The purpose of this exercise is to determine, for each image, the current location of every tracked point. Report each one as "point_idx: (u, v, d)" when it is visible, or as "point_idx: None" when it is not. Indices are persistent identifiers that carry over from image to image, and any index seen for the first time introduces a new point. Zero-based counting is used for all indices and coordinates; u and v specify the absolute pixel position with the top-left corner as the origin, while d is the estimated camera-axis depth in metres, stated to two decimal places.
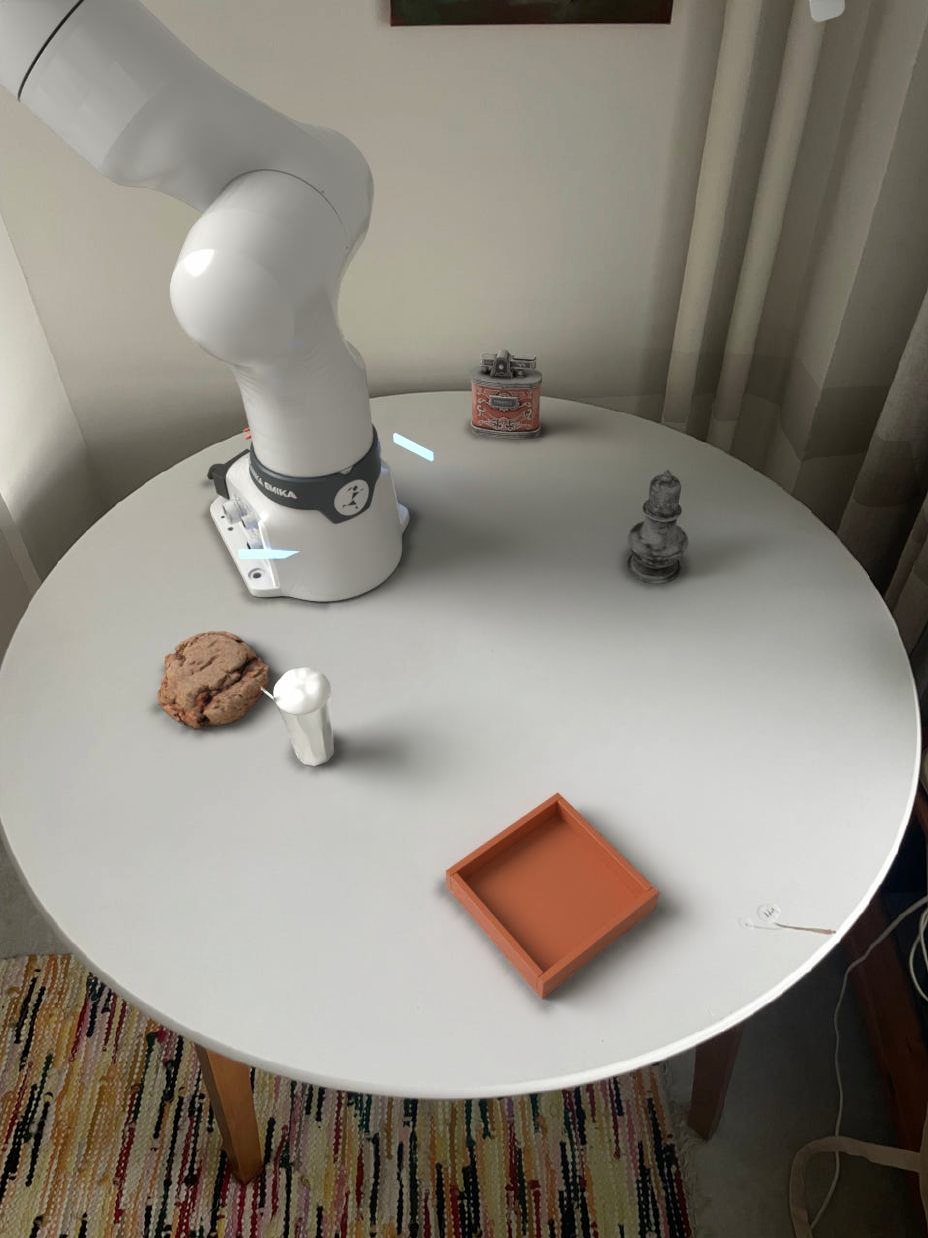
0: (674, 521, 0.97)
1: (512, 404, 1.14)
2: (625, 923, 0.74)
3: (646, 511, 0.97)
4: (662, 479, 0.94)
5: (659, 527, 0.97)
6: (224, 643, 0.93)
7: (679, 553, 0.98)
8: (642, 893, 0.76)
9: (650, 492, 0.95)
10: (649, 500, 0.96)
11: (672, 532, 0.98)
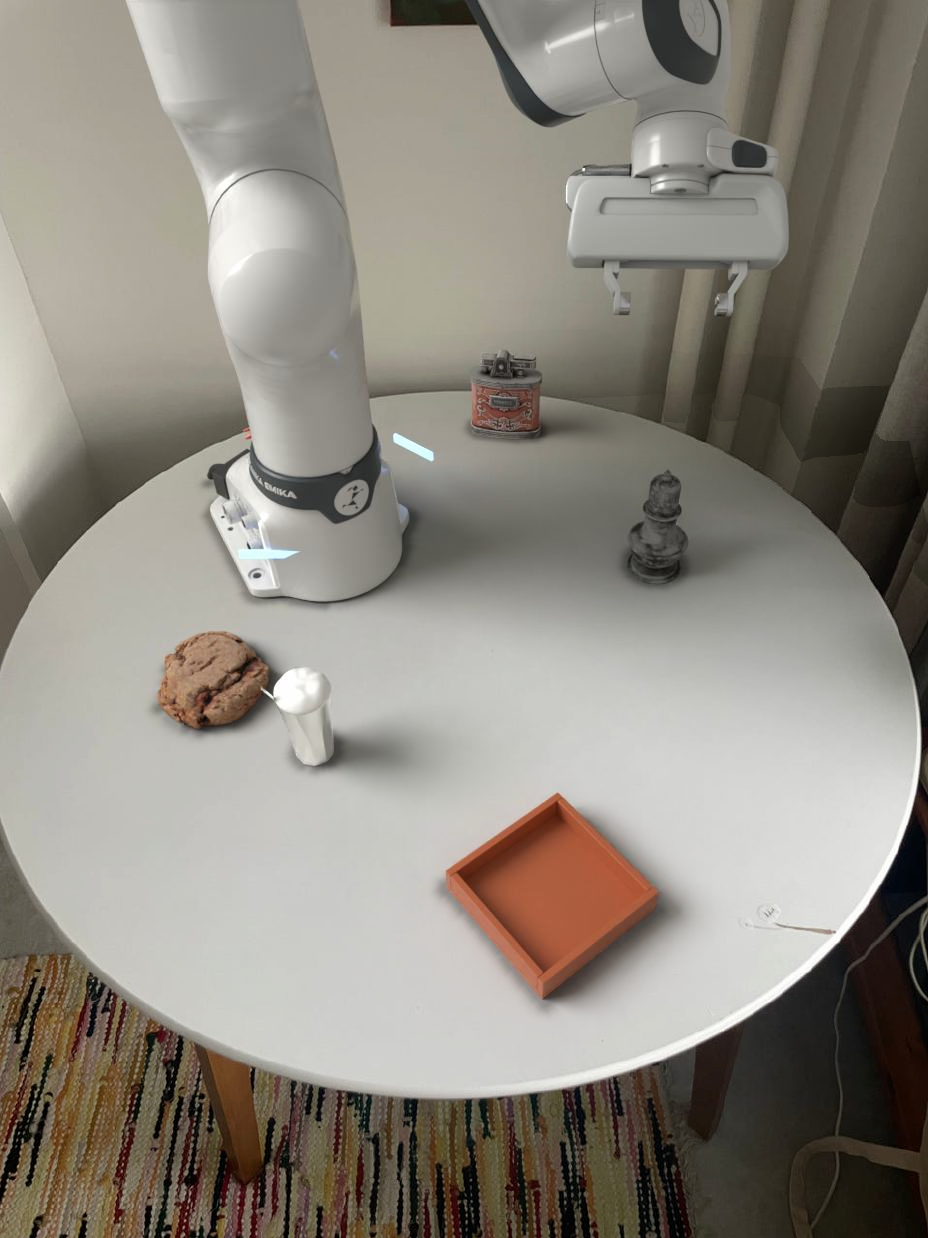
0: (674, 521, 0.97)
1: (512, 404, 1.14)
2: (625, 923, 0.74)
3: (646, 511, 0.97)
4: (663, 479, 0.94)
5: (659, 527, 0.97)
6: (224, 643, 0.93)
7: (679, 553, 0.98)
8: (642, 893, 0.76)
9: (650, 492, 0.95)
10: (649, 500, 0.96)
11: (672, 532, 0.98)
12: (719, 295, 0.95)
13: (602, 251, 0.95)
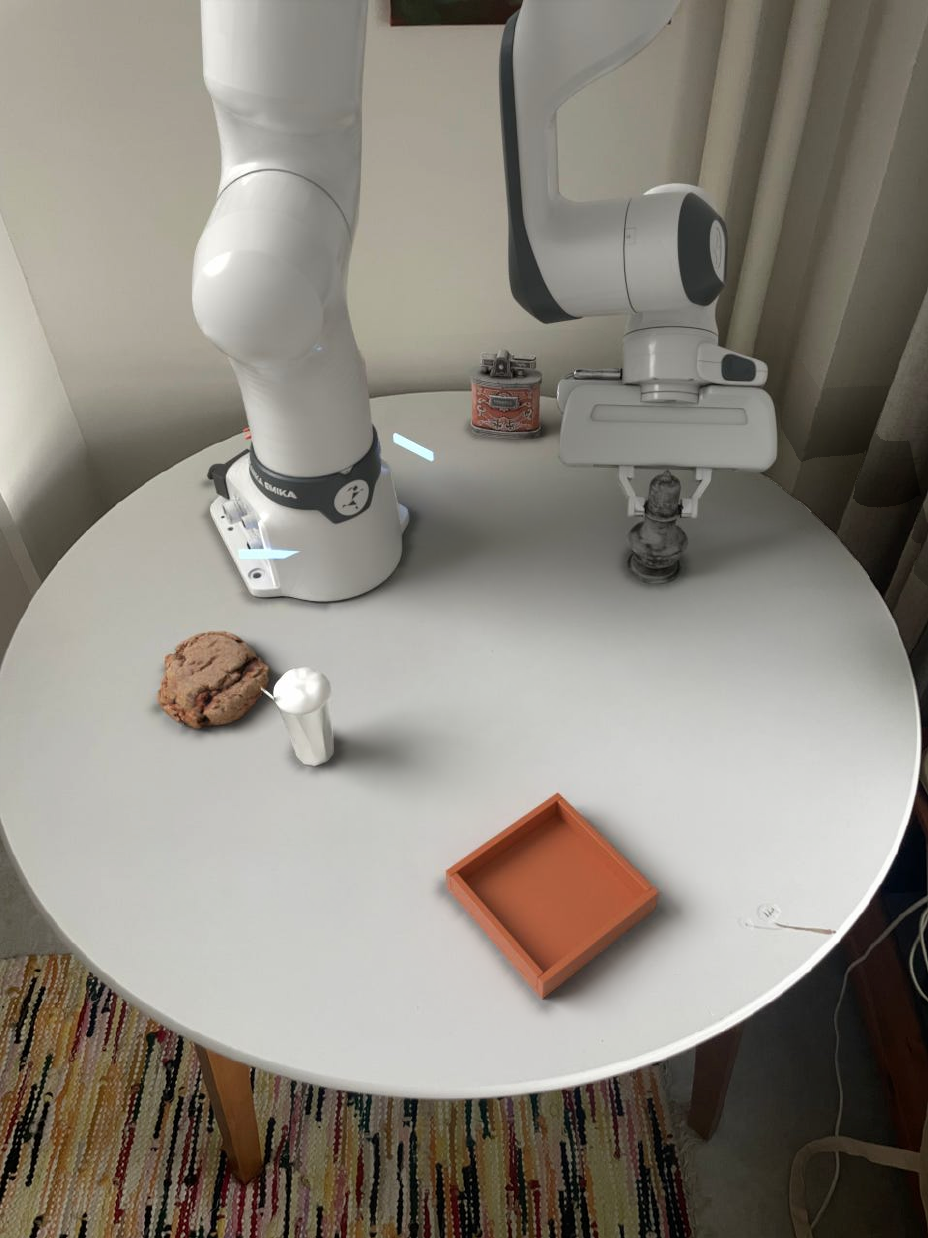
0: (674, 521, 0.97)
1: (512, 404, 1.14)
2: (625, 923, 0.74)
3: (646, 511, 0.97)
4: (662, 479, 0.94)
5: (659, 527, 0.97)
6: (224, 643, 0.93)
7: (679, 553, 0.98)
8: (642, 893, 0.76)
9: (650, 492, 0.95)
10: (649, 500, 0.96)
11: (672, 532, 0.98)
12: (683, 500, 0.96)
13: (593, 457, 0.96)
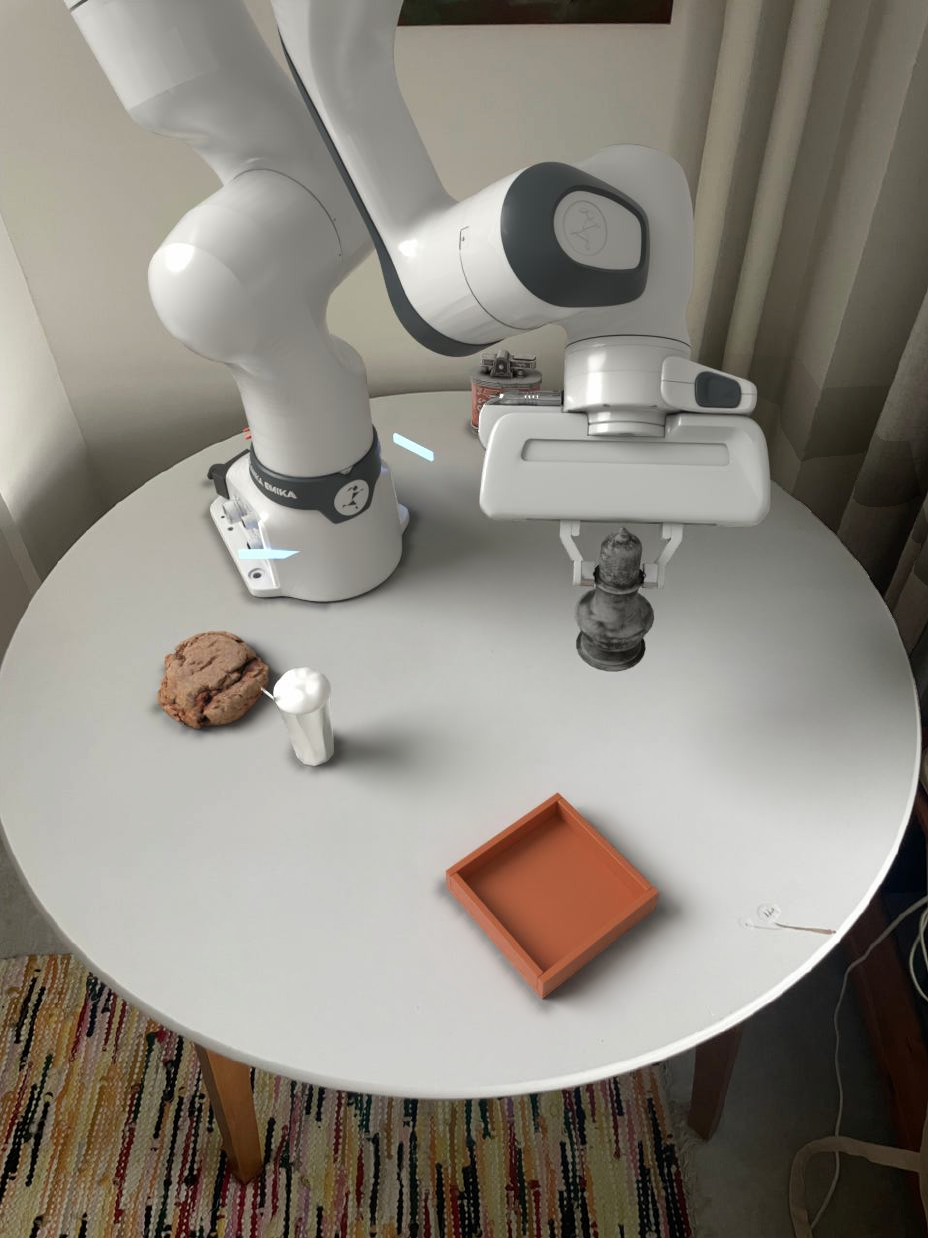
0: (634, 593, 0.73)
1: None
2: (625, 923, 0.74)
3: (597, 580, 0.73)
4: (617, 540, 0.70)
5: (614, 601, 0.73)
6: (224, 643, 0.93)
7: (642, 634, 0.74)
8: (642, 893, 0.76)
9: (601, 556, 0.71)
10: (600, 566, 0.72)
11: (632, 606, 0.74)
12: (646, 566, 0.72)
13: (525, 510, 0.72)
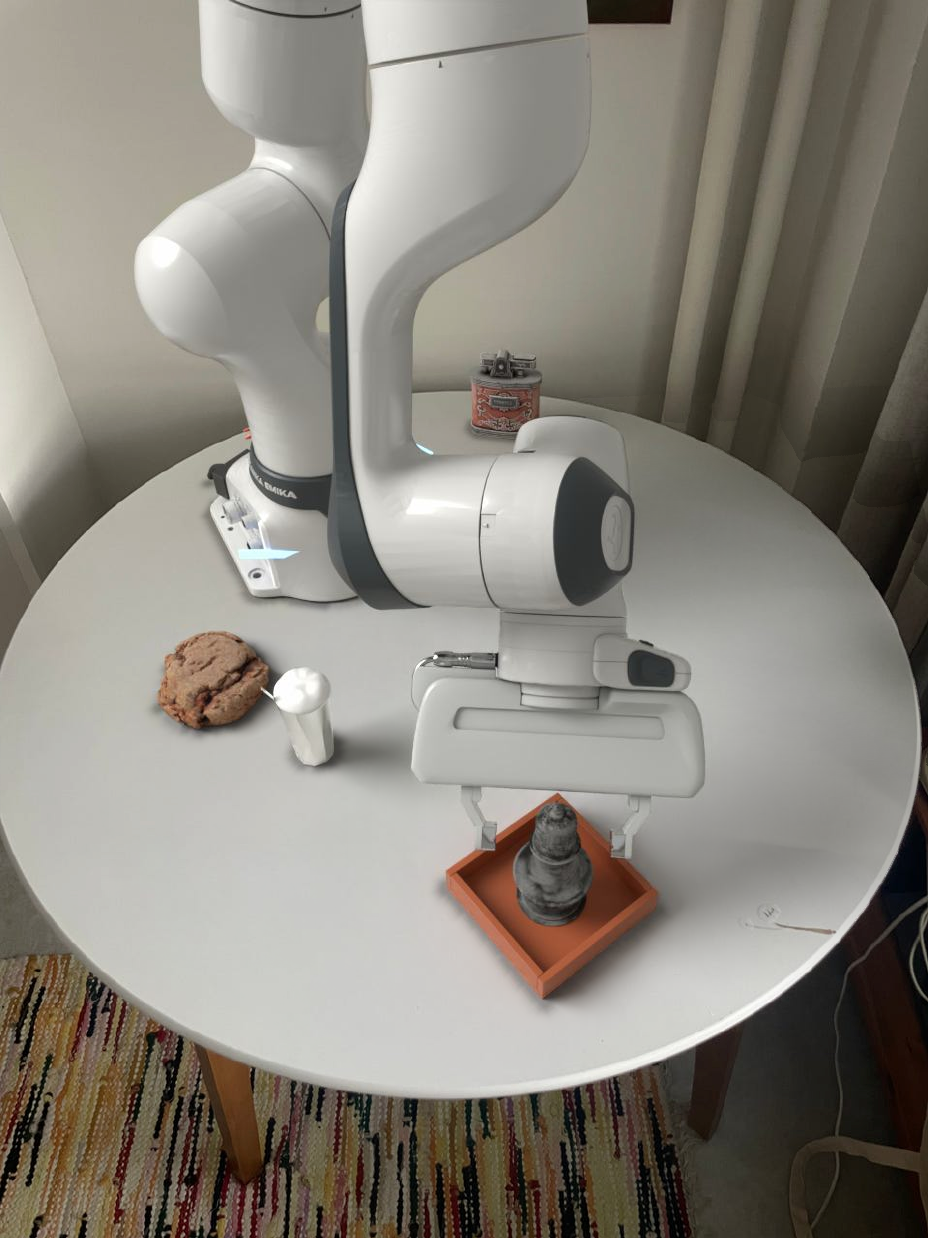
0: None
1: (512, 404, 1.14)
2: (625, 923, 0.74)
3: (533, 848, 0.72)
4: (551, 817, 0.69)
5: (551, 868, 0.72)
6: (224, 643, 0.93)
7: (579, 897, 0.73)
8: (642, 893, 0.76)
9: (536, 829, 0.70)
10: (536, 836, 0.71)
11: (569, 870, 0.73)
12: (613, 837, 0.71)
13: (456, 778, 0.71)
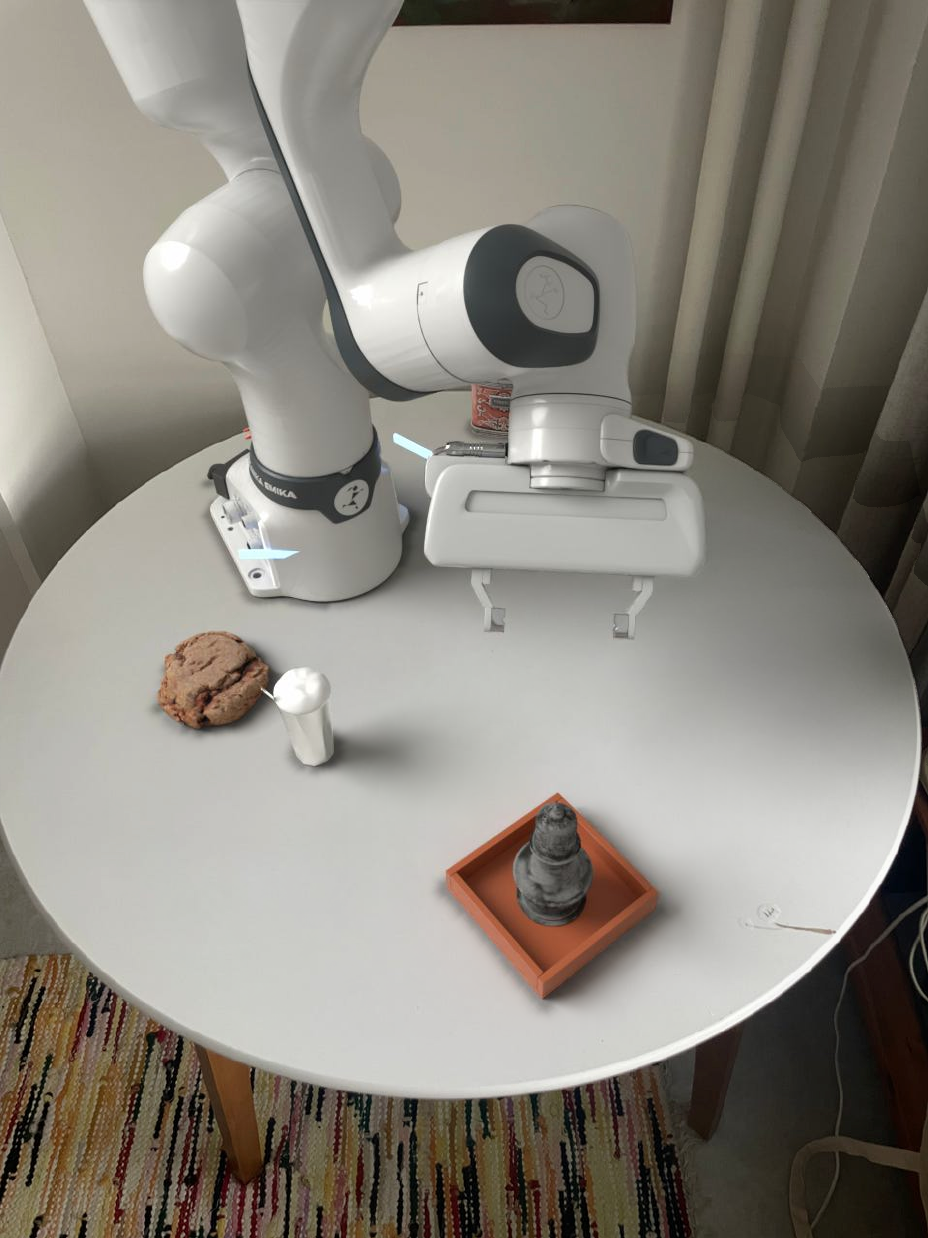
0: None
1: None
2: (625, 923, 0.74)
3: (533, 848, 0.72)
4: (551, 817, 0.69)
5: (551, 868, 0.72)
6: (224, 643, 0.93)
7: (579, 897, 0.73)
8: (642, 893, 0.76)
9: (536, 829, 0.70)
10: (536, 836, 0.71)
11: (569, 870, 0.73)
12: (617, 617, 0.74)
13: (468, 559, 0.73)
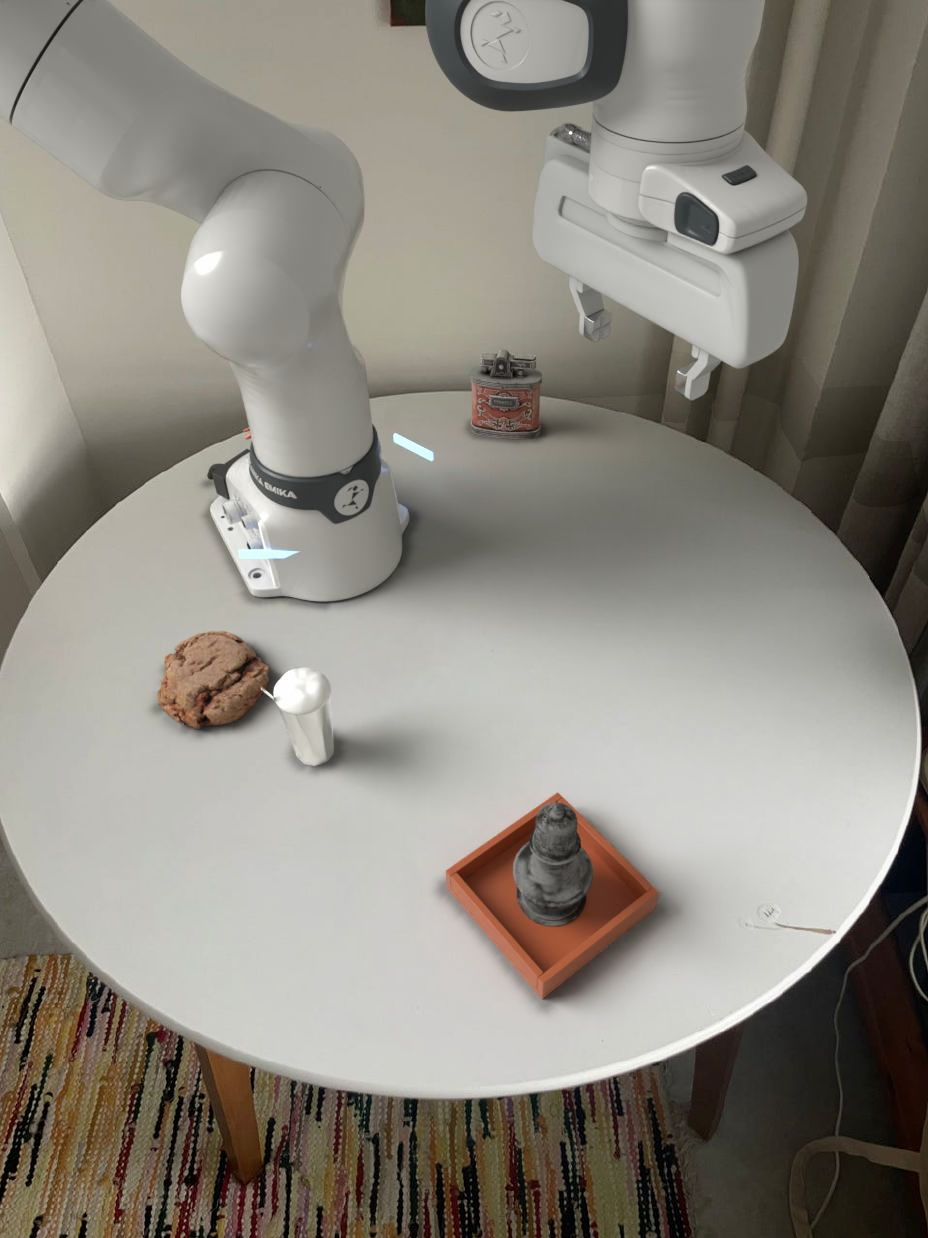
0: None
1: (512, 404, 1.14)
2: (625, 923, 0.74)
3: (533, 848, 0.72)
4: (551, 817, 0.69)
5: (551, 868, 0.72)
6: (224, 643, 0.93)
7: (579, 897, 0.73)
8: (642, 893, 0.76)
9: (536, 829, 0.70)
10: (536, 836, 0.71)
11: (569, 870, 0.73)
12: (677, 374, 0.68)
13: (559, 265, 0.71)
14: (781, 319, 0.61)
